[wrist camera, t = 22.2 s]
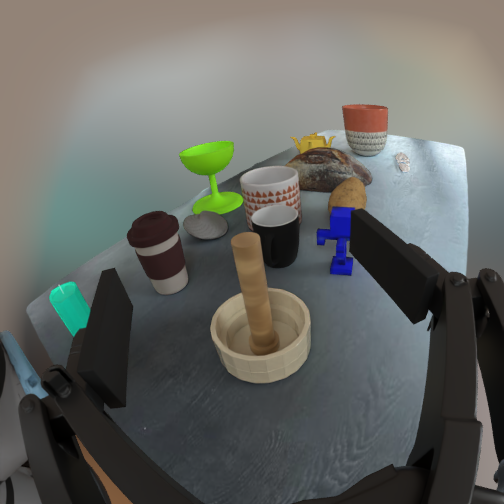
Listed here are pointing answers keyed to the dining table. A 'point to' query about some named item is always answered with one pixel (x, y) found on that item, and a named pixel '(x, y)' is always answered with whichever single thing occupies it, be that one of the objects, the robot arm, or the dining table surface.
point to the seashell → (206, 225)
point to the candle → (70, 306)
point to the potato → (348, 195)
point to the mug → (277, 234)
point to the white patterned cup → (270, 189)
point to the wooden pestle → (255, 293)
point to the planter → (366, 128)
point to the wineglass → (212, 174)
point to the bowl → (238, 331)
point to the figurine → (338, 239)
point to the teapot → (312, 142)
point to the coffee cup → (160, 251)
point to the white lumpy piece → (403, 166)
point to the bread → (327, 169)
